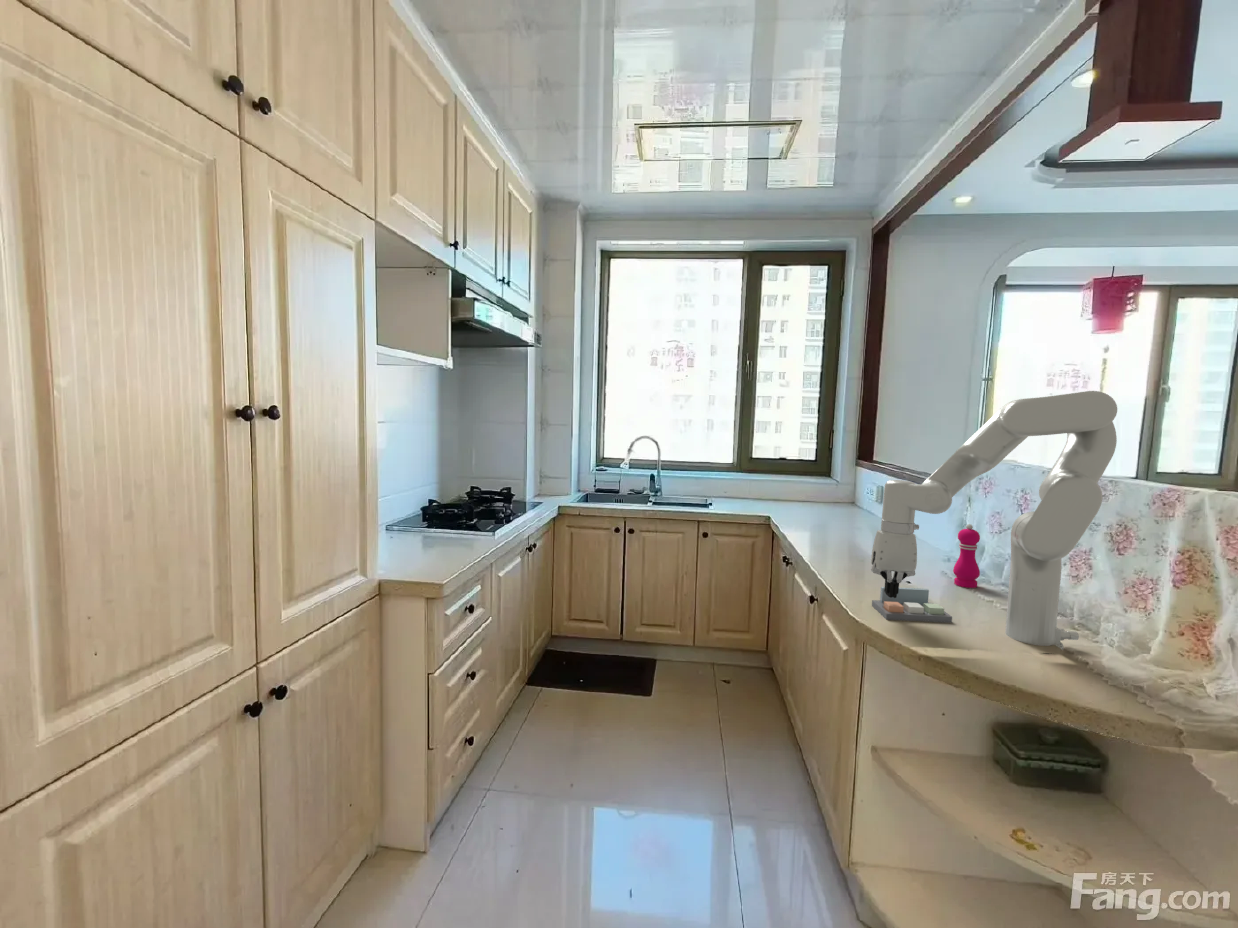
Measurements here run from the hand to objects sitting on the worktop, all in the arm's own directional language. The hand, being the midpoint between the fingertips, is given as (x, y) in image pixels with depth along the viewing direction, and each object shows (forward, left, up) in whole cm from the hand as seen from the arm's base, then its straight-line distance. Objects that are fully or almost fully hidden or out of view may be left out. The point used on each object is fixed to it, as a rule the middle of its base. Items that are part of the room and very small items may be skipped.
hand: (890, 595), depth 143 cm
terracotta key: (-1, 0, -5) cm, 5 cm away
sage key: (-11, 0, -5) cm, 12 cm away
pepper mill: (-37, -36, -7) cm, 52 cm away
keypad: (-6, -1, -7) cm, 9 cm away
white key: (-6, 0, -5) cm, 8 cm away
